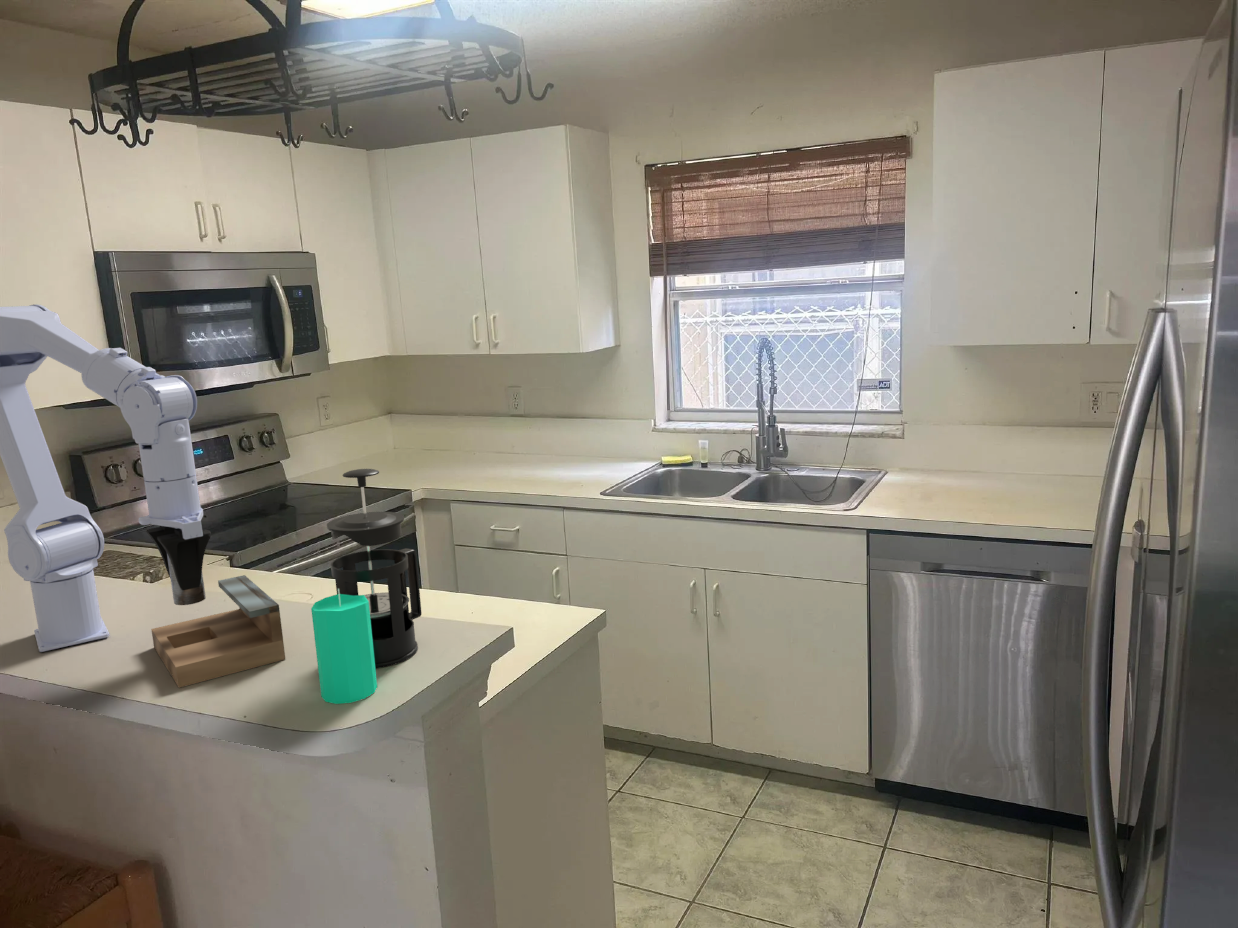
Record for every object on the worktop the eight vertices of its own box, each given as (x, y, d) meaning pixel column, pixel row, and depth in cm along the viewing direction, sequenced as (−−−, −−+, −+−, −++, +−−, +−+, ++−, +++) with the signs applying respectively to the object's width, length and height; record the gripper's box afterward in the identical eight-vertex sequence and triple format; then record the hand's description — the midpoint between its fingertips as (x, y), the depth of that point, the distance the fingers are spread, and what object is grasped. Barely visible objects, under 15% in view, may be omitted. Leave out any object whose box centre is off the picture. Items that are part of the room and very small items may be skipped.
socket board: (154, 647, 115) (146, 595, 114) (250, 624, 122) (244, 574, 121) (178, 687, 103) (170, 629, 101) (285, 659, 110) (278, 604, 108)
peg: (199, 593, 114) (191, 540, 113) (210, 599, 112) (203, 545, 111) (169, 601, 112) (161, 547, 111) (180, 607, 109) (172, 552, 108)
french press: (366, 677, 103) (346, 482, 99) (318, 660, 109) (297, 475, 105) (444, 643, 112) (428, 464, 108) (396, 629, 118) (379, 458, 114)
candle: (361, 705, 96) (350, 598, 94) (310, 702, 97) (298, 597, 95) (386, 681, 102) (376, 580, 100) (338, 678, 103) (327, 579, 101)
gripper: (120, 475, 112) (136, 579, 114) (148, 491, 101) (166, 606, 103) (181, 466, 116) (195, 567, 119) (214, 480, 105) (229, 591, 108)
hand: (185, 584), depth 111 cm, fingers closed on peg, 4 cm apart
